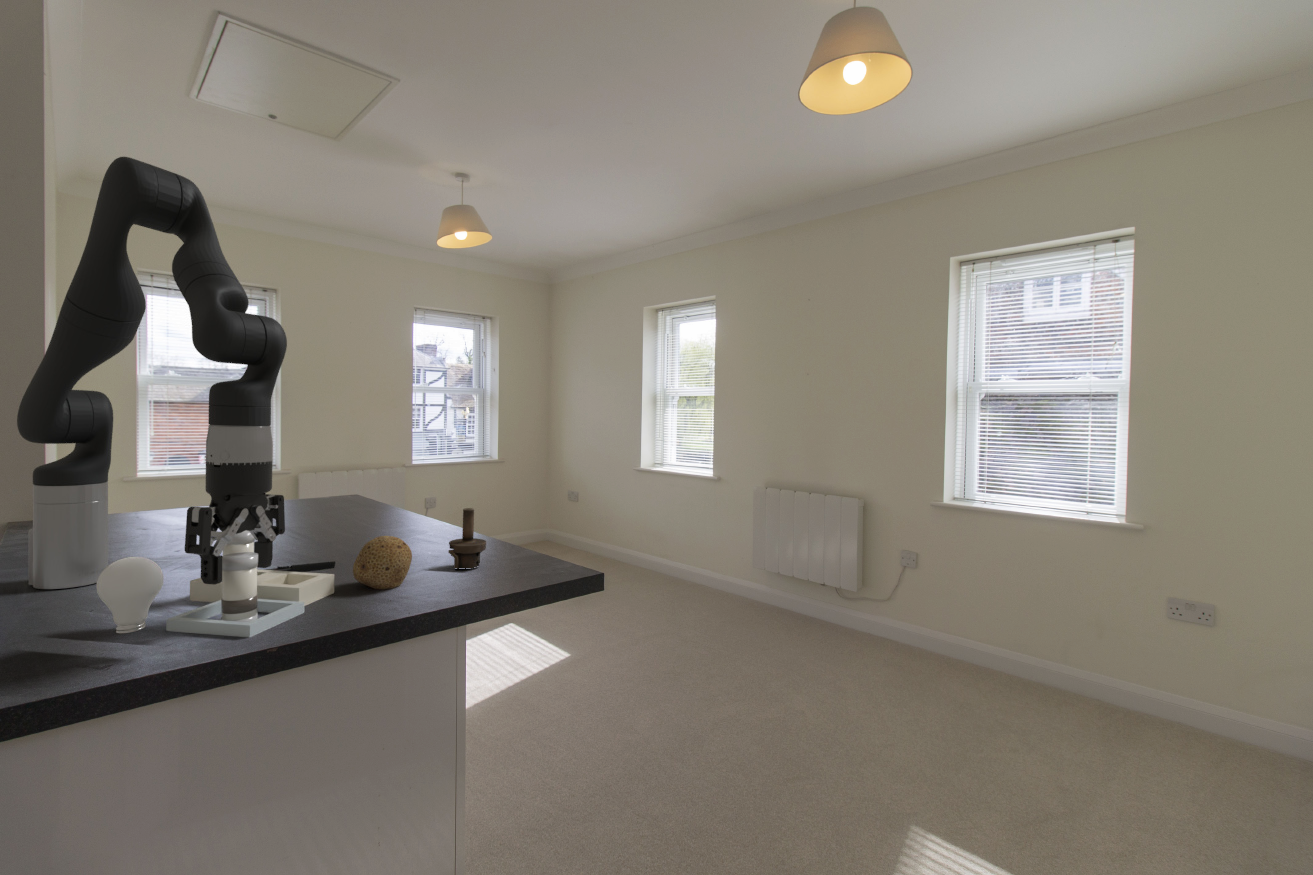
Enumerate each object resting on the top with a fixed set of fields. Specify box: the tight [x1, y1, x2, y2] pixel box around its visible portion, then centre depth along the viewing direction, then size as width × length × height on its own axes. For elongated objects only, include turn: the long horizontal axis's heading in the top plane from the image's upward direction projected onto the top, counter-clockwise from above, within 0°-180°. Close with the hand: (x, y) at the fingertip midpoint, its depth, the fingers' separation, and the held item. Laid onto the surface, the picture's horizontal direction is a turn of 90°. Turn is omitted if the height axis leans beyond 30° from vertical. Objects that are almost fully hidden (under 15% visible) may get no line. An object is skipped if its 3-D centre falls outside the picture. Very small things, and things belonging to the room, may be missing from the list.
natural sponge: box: [352, 535, 413, 590], centre depth 101 cm, size 9×9×10 cm
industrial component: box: [447, 507, 487, 569], centre depth 120 cm, size 9×7×12 cm
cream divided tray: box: [189, 568, 335, 607], centre depth 93 cm, size 18×8×4 cm, turn 83°
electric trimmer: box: [264, 561, 336, 573], centre depth 107 cm, size 4×16×3 cm, turn 126°
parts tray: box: [165, 599, 305, 638], centre depth 82 cm, size 12×10×3 cm
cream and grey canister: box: [220, 552, 259, 622], centre depth 82 cm, size 4×4×10 cm
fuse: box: [222, 530, 256, 556], centre depth 94 cm, size 4×4×10 cm
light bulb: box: [95, 556, 165, 634], centre depth 78 cm, size 7×7×11 cm
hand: (238, 574), depth 82 cm, fingers open, 8 cm apart
